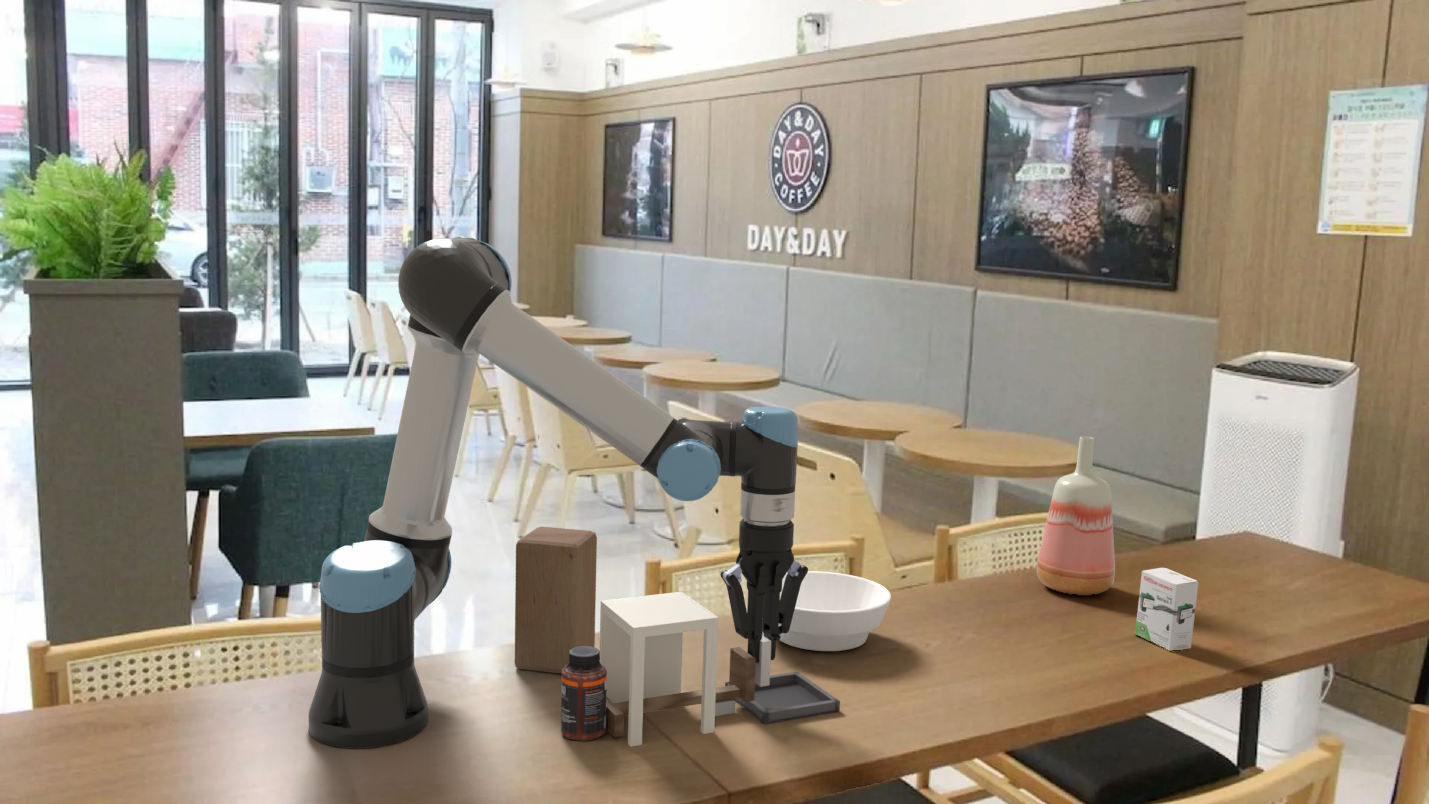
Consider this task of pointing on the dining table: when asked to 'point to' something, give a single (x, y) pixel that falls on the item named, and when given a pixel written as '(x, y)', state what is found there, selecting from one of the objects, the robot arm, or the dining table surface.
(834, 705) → the grey shallow square tray
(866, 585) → the bowl
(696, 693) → the wooden dumbbell-shaped bar
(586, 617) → the wooden block
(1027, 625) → the dining table surface
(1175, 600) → the ink box
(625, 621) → the tunnel
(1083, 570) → the vase
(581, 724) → the supplement bottle
